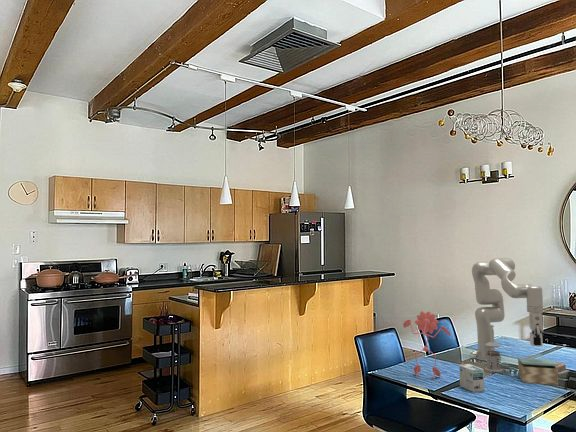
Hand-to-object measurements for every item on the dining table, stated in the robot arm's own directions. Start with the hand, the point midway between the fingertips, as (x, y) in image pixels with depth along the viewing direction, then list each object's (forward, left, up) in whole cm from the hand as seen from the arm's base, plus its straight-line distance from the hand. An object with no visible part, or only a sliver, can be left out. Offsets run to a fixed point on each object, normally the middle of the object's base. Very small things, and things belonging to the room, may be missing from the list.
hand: (536, 343), depth 241 cm
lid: (0, 0, -10) cm, 10 cm away
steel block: (0, 0, -1) cm, 1 cm away
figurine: (-55, -7, -19) cm, 59 cm away
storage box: (0, 0, -19) cm, 19 cm away
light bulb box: (-34, -24, -19) cm, 46 cm away
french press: (-20, +14, -19) cm, 31 cm away
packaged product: (+10, +17, -20) cm, 28 cm away
